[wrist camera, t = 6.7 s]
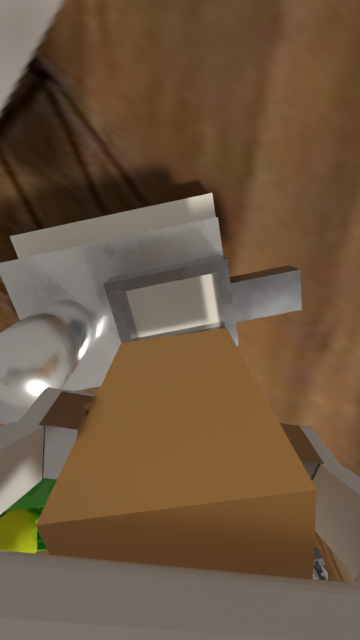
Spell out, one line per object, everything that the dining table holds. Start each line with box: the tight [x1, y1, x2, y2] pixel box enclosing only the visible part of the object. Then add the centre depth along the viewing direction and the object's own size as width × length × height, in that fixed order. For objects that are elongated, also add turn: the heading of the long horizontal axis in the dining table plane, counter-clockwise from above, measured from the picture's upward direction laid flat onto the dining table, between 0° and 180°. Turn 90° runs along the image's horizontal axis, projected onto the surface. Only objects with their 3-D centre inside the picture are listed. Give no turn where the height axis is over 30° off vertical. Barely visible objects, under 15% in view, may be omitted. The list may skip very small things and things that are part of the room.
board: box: [10, 193, 219, 337], centre depth 26 cm, size 18×16×2 cm
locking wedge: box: [36, 328, 317, 579], centre depth 9 cm, size 5×3×8 cm, turn 98°
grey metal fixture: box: [0, 217, 302, 424], centre depth 19 cm, size 22×12×12 cm, turn 101°
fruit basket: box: [0, 478, 57, 553], centre depth 29 cm, size 11×9×11 cm
